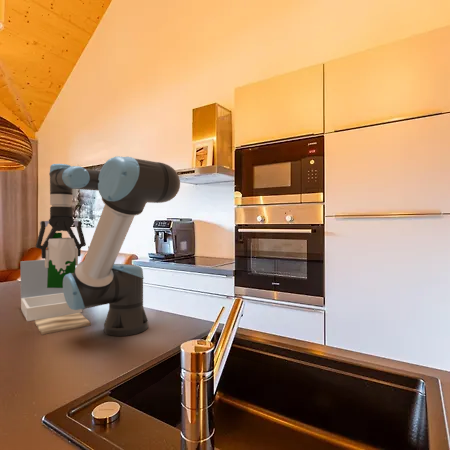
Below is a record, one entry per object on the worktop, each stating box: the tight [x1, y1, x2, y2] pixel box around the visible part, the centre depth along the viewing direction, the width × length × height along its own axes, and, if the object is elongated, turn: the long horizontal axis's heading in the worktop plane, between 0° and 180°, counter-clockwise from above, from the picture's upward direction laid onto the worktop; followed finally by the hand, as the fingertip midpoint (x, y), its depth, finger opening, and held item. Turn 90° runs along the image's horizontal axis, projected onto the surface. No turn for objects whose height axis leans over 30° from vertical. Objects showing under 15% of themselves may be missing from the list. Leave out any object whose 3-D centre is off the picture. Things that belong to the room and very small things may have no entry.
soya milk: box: [45, 232, 77, 288], centre depth 120 cm, size 9×9×20 cm
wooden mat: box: [34, 312, 92, 335], centre depth 120 cm, size 16×16×1 cm
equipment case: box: [19, 259, 83, 322], centre depth 140 cm, size 27×20×21 cm
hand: (61, 266), depth 120 cm, fingers closed on soya milk, 9 cm apart
